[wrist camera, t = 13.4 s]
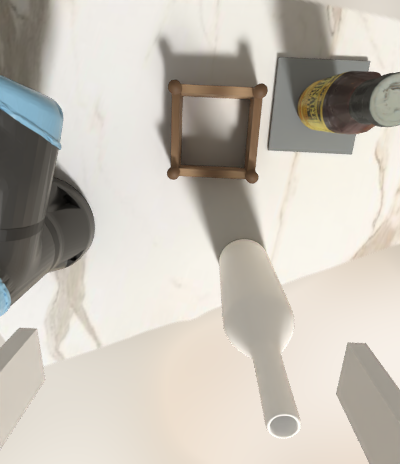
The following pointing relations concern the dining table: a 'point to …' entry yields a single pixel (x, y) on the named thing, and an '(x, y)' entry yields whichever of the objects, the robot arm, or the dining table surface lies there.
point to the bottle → (260, 328)
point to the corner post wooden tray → (252, 133)
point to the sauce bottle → (351, 102)
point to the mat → (286, 100)
